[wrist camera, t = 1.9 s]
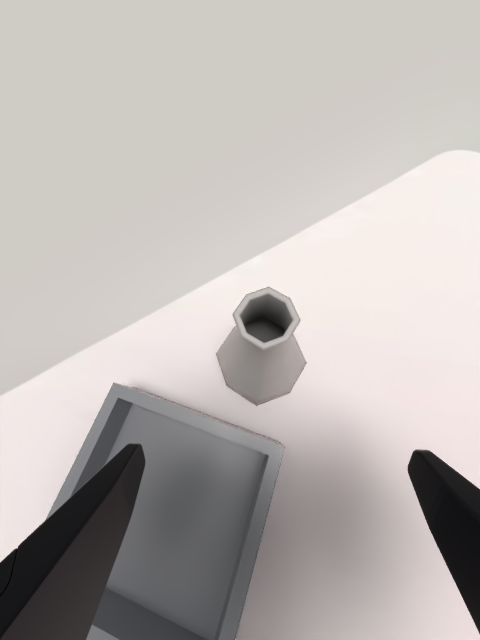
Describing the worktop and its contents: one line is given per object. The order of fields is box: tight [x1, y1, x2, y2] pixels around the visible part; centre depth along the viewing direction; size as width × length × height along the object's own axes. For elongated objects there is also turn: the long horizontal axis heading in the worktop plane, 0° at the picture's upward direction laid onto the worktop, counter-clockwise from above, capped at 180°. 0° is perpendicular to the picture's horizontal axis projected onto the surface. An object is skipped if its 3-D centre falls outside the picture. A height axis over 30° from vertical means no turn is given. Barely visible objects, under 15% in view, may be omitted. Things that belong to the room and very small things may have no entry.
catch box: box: [45, 383, 285, 640], centre depth 17 cm, size 13×13×4 cm
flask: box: [216, 287, 306, 406], centre depth 18 cm, size 7×7×10 cm
